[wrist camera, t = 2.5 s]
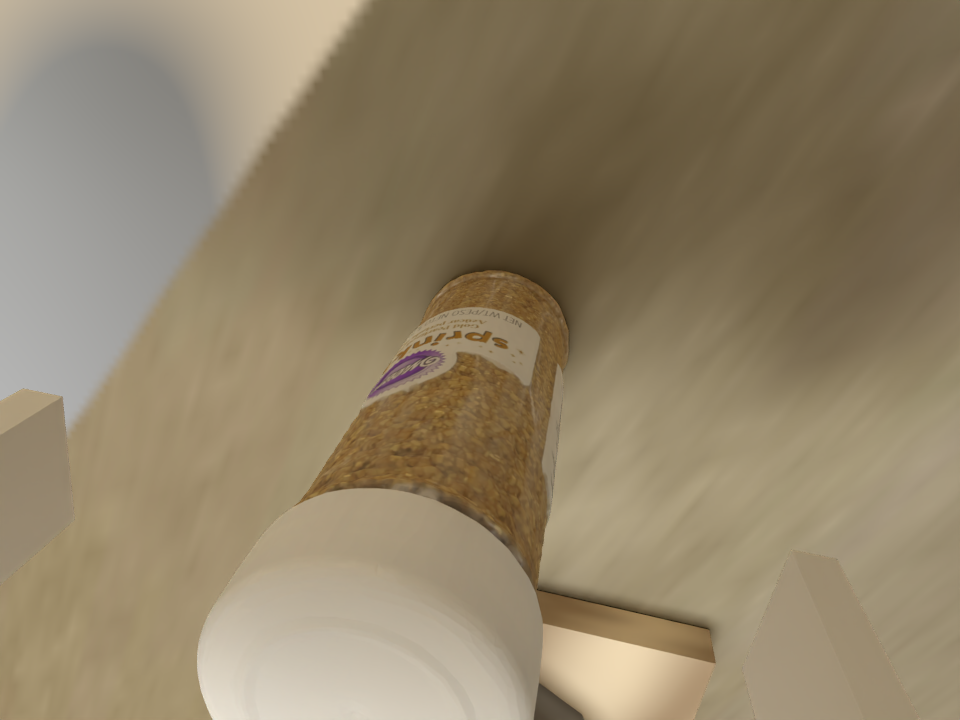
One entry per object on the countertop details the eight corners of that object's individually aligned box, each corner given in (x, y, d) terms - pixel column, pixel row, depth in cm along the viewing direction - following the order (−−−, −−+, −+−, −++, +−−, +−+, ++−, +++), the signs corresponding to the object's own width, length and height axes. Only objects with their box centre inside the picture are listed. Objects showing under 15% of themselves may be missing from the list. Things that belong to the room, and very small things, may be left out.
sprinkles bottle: (498, 234, 20) (337, 506, 7) (602, 347, 21) (612, 759, 8) (391, 332, 21) (117, 684, 9) (492, 433, 22) (363, 880, 10)
